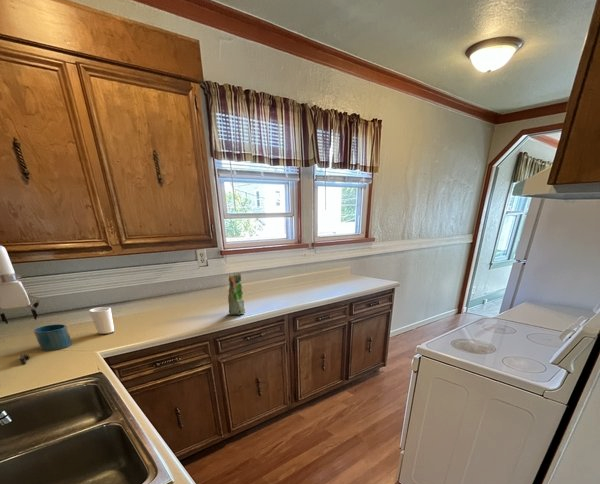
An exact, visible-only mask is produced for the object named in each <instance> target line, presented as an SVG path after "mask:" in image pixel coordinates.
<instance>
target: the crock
mask: <svg viewBox="0 0 600 484" xmlns="http://www.w3.org/2000/svg"><path fill="white" fill-rule="evenodd" d="M33 333H34V336H35V338H36V341H37V343H38V345H39V348H40V351H43V350H44V351H43V352H55V351H59V350H64V349H67V348H69V347H71V346H72V344H73V343H72V339H71V336H70V332H69V330H68V328H67V325H66V324H63V323H56V324H48V325H43V326H39V327H36V328H34V330H33Z"/></svg>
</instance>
